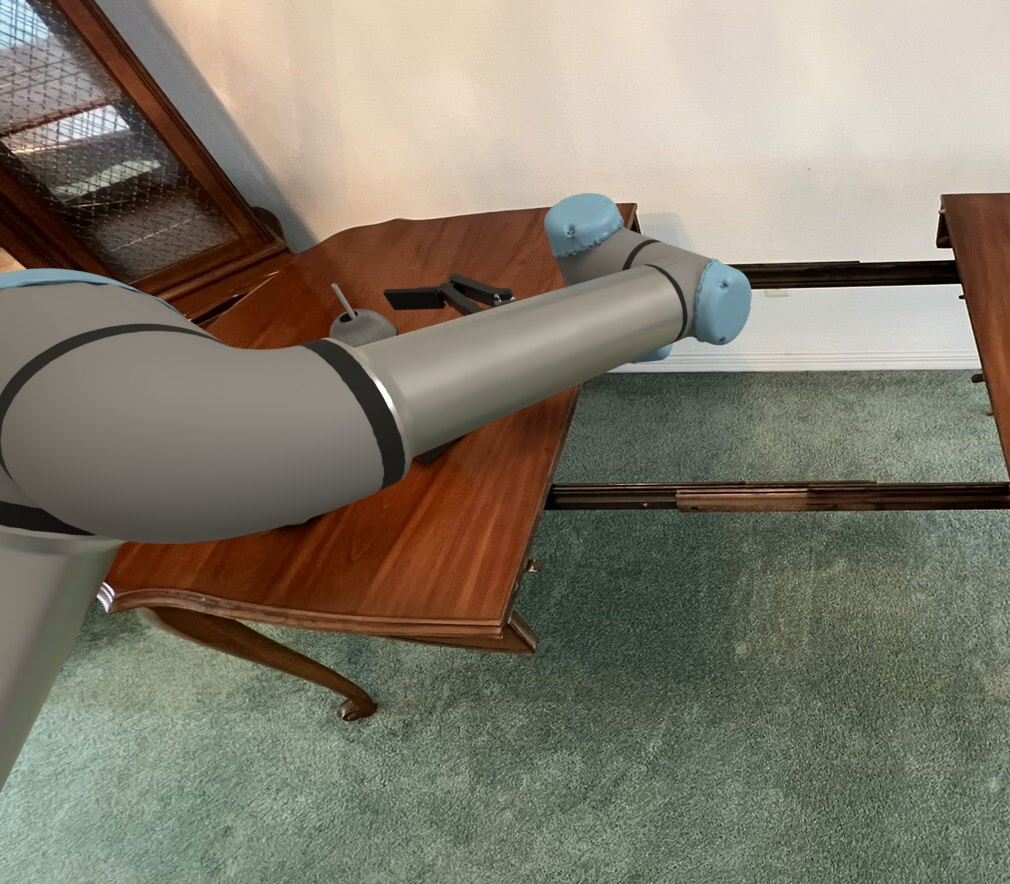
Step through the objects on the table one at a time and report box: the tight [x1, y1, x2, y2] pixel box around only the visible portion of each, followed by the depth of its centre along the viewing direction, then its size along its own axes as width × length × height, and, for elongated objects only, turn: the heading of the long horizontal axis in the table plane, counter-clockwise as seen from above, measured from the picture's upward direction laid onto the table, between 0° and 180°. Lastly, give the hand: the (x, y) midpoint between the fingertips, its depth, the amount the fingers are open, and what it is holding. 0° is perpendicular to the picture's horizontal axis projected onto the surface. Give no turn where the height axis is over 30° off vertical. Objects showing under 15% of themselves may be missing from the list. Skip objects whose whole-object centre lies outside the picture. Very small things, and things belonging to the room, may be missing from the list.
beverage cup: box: [329, 283, 400, 348], centre depth 81 cm, size 7×7×20 cm
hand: (365, 336), depth 79 cm, fingers open, 13 cm apart
